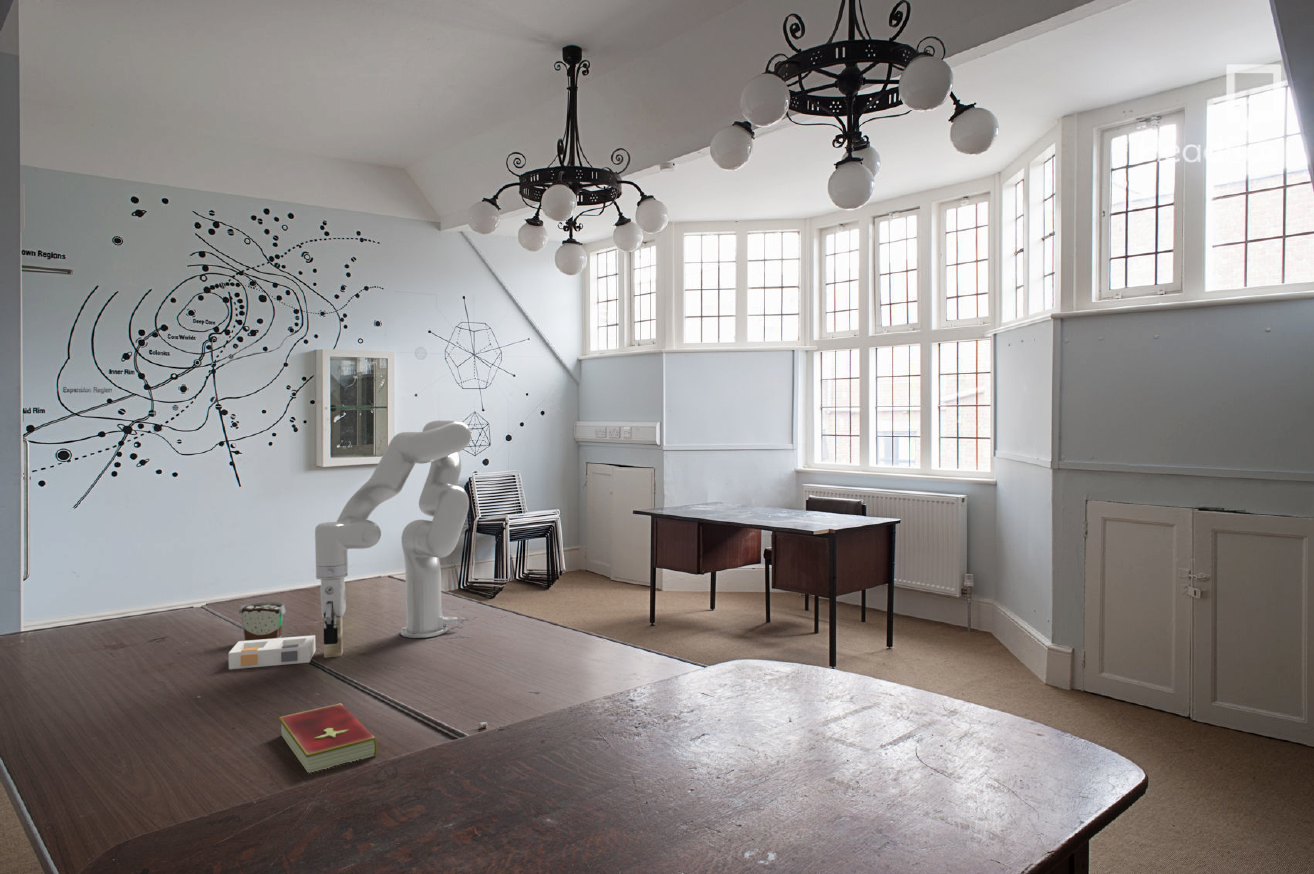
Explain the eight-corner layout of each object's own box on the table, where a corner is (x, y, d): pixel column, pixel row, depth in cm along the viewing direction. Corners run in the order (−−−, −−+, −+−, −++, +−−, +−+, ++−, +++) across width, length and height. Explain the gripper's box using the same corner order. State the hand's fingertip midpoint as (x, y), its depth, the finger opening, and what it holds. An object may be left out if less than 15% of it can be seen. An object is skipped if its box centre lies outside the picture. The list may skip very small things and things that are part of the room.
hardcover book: (343, 721, 157) (343, 701, 157) (377, 758, 140) (377, 735, 140) (278, 737, 150) (278, 715, 149) (306, 777, 133) (306, 753, 133)
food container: (295, 637, 215) (294, 601, 215) (282, 643, 209) (281, 606, 208) (253, 636, 216) (252, 600, 216) (239, 642, 210) (238, 606, 210)
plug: (343, 651, 202) (342, 613, 201) (341, 656, 198) (340, 617, 198) (326, 652, 201) (325, 614, 200) (324, 657, 197) (323, 618, 196)
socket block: (315, 650, 203) (315, 634, 203) (309, 662, 193) (308, 645, 193) (239, 656, 198) (238, 640, 198) (228, 669, 188) (228, 652, 188)
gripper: (343, 576, 191) (344, 647, 192) (351, 563, 208) (352, 628, 208) (310, 578, 189) (311, 650, 190) (320, 565, 206) (322, 630, 206)
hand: (333, 638), depth 199 cm, fingers open, 8 cm apart
